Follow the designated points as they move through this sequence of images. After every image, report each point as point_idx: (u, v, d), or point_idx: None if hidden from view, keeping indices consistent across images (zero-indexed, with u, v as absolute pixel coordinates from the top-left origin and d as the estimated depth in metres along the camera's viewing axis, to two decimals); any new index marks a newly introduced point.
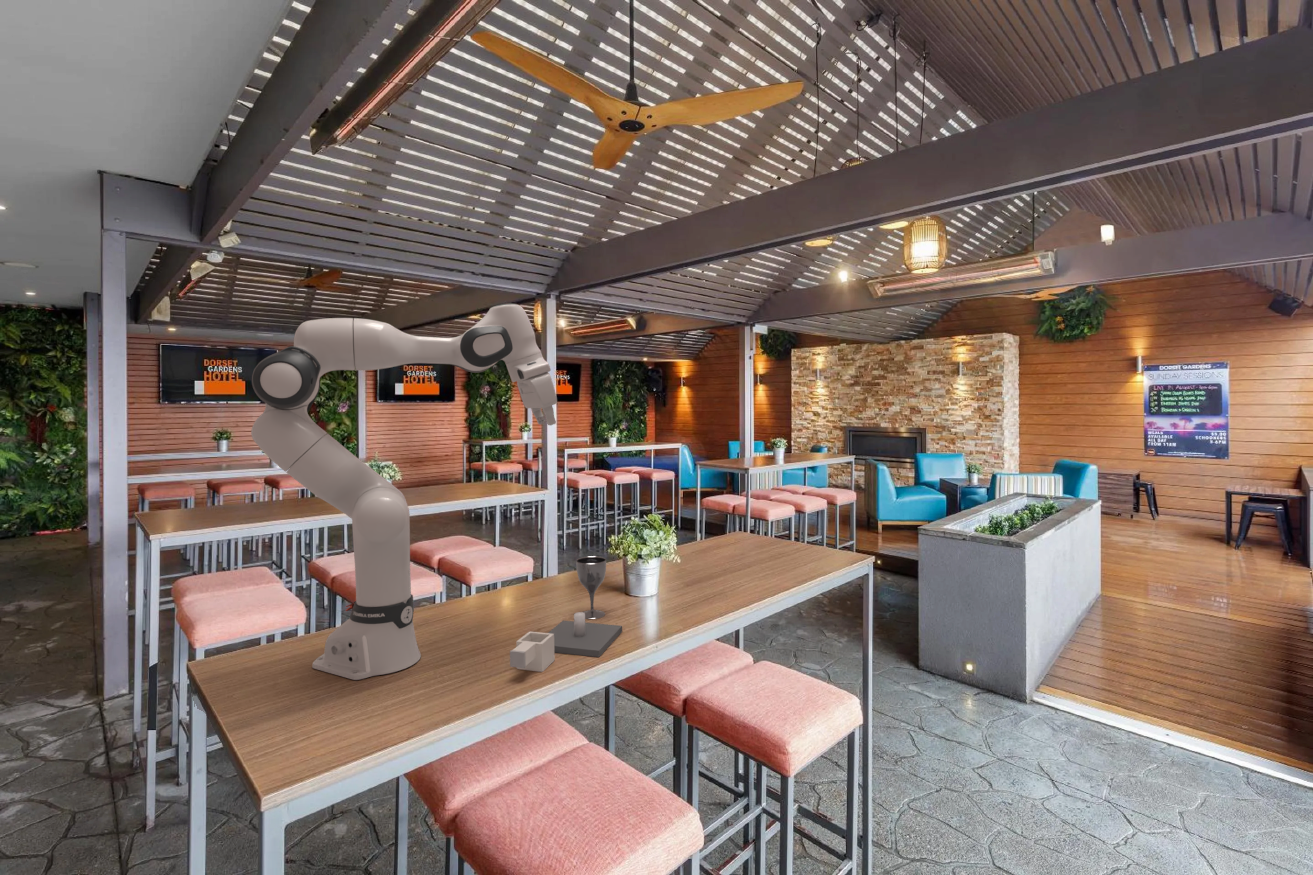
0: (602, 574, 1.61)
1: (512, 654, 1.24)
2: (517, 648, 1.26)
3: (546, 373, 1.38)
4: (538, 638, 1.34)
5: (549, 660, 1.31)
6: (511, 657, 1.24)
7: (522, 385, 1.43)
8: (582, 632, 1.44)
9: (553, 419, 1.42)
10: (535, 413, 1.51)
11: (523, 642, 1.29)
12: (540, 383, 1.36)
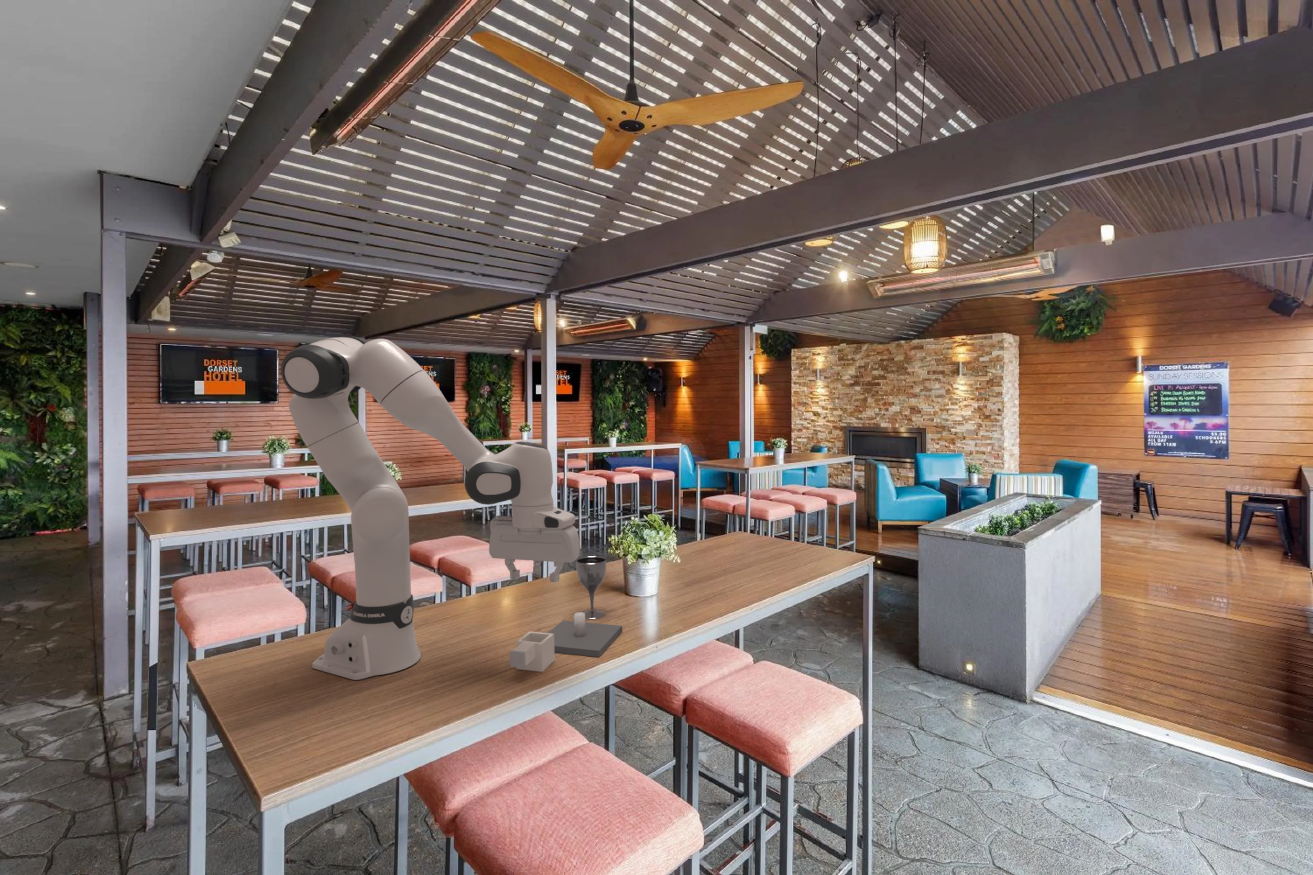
0: (602, 574, 1.61)
1: (512, 654, 1.24)
2: (517, 648, 1.26)
3: (571, 525, 1.30)
4: (538, 638, 1.34)
5: (549, 660, 1.31)
6: (511, 657, 1.24)
7: (533, 533, 1.27)
8: (582, 632, 1.44)
9: (558, 575, 1.30)
10: (510, 565, 1.32)
11: (523, 642, 1.29)
12: (573, 536, 1.27)
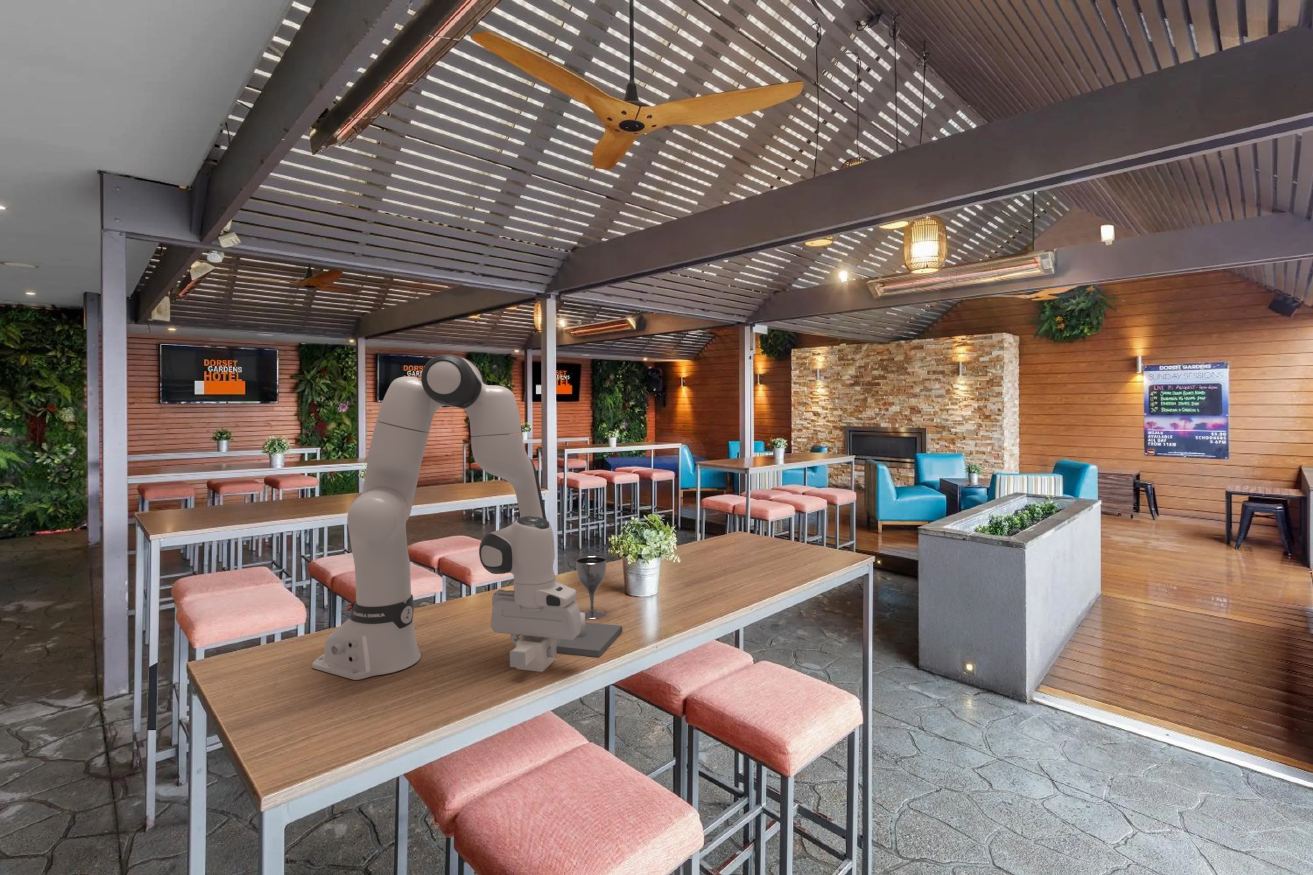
0: (602, 574, 1.61)
1: (512, 654, 1.24)
2: (517, 648, 1.26)
3: (573, 601, 1.31)
4: (538, 638, 1.34)
5: (549, 660, 1.31)
6: (511, 657, 1.24)
7: (535, 610, 1.28)
8: (582, 632, 1.44)
9: (555, 650, 1.31)
10: (516, 640, 1.32)
11: (523, 642, 1.29)
12: (574, 613, 1.28)
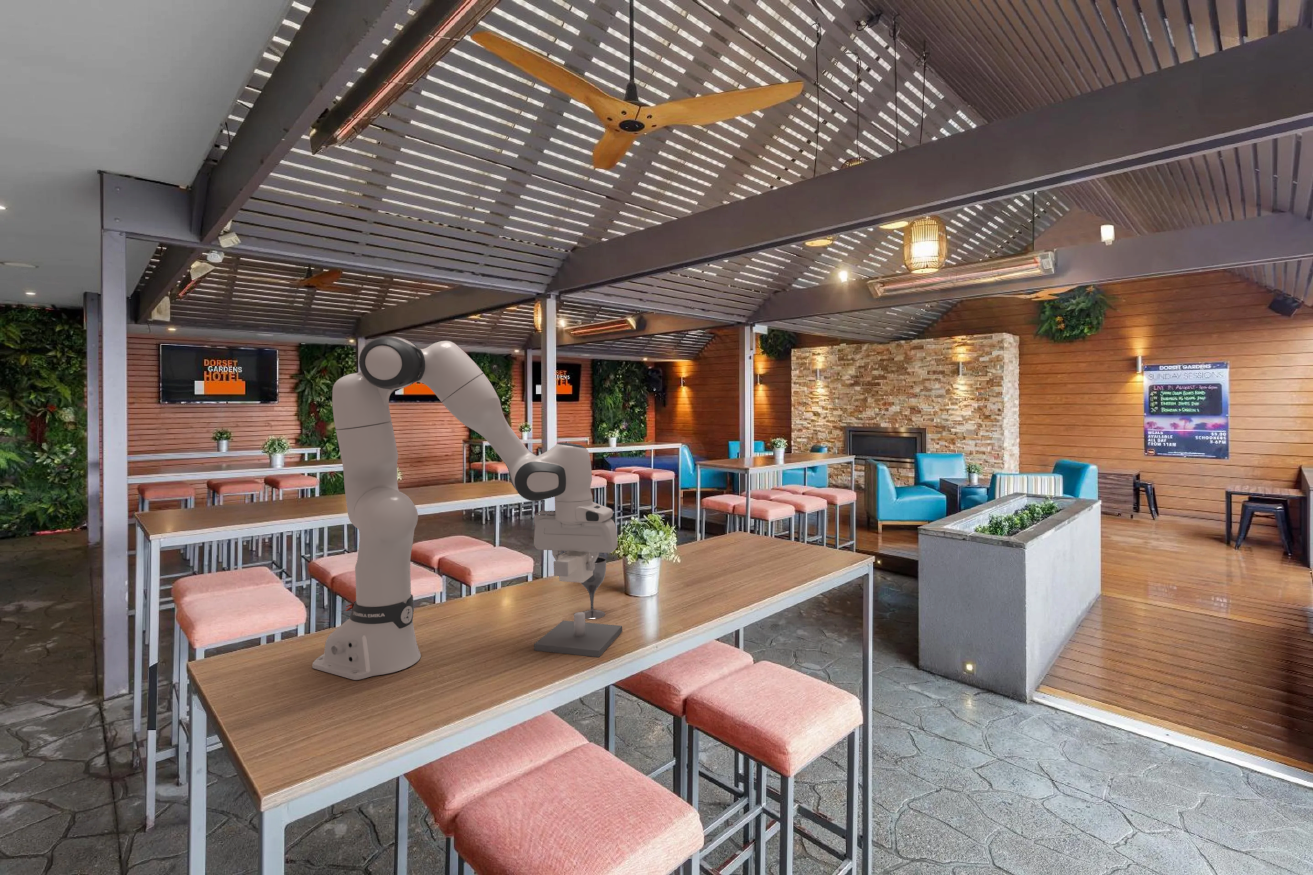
0: (602, 574, 1.61)
1: (556, 564, 1.35)
2: (560, 560, 1.36)
3: (610, 519, 1.41)
4: (577, 555, 1.45)
5: (588, 574, 1.42)
6: (555, 567, 1.35)
7: (575, 526, 1.39)
8: (582, 632, 1.44)
9: (594, 564, 1.42)
10: (557, 556, 1.43)
11: (564, 556, 1.40)
12: (611, 528, 1.39)
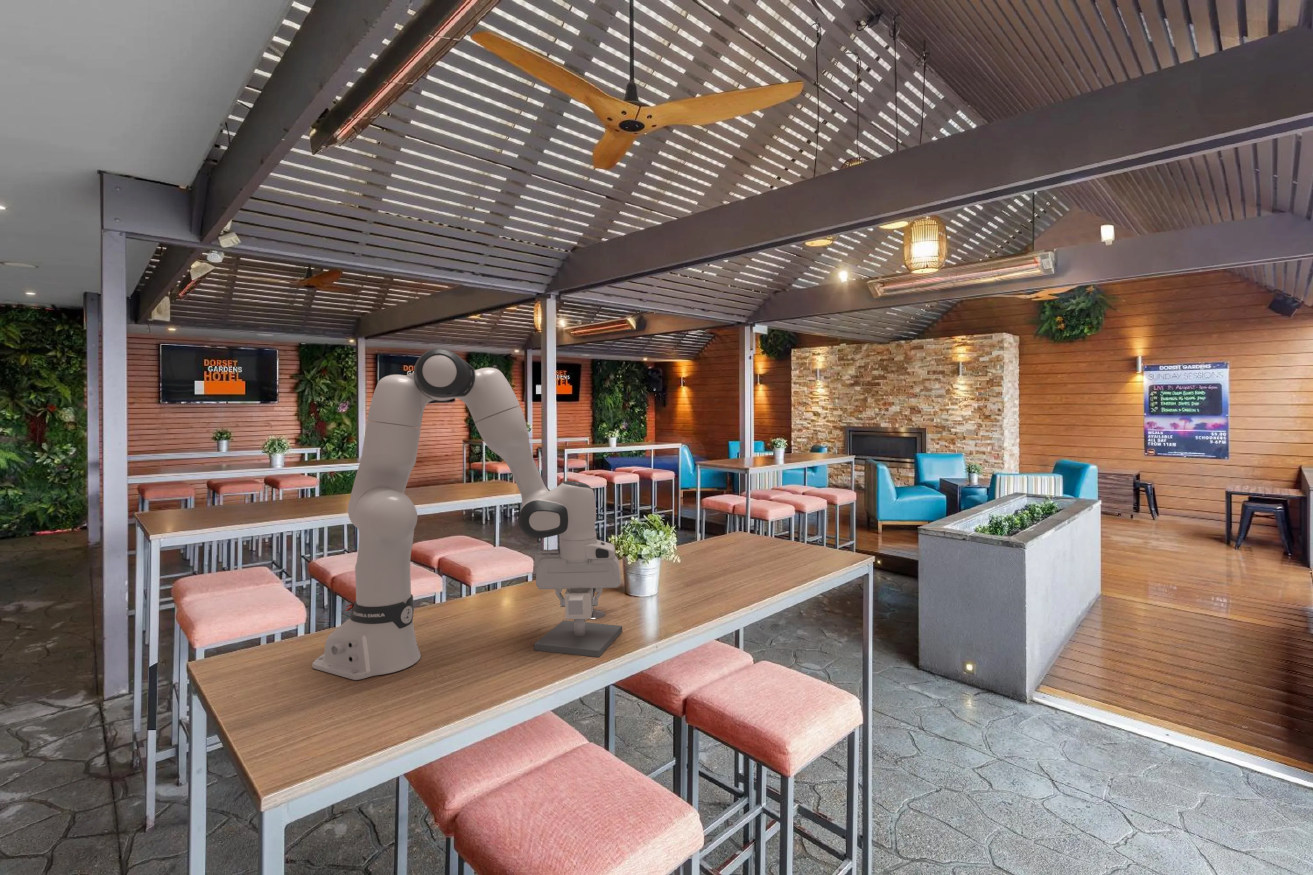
0: None
1: (571, 603, 1.37)
2: (572, 598, 1.38)
3: None
4: (578, 591, 1.47)
5: None
6: (570, 606, 1.37)
7: (583, 564, 1.42)
8: (582, 632, 1.44)
9: None
10: (560, 594, 1.44)
11: (572, 594, 1.42)
12: (618, 563, 1.44)
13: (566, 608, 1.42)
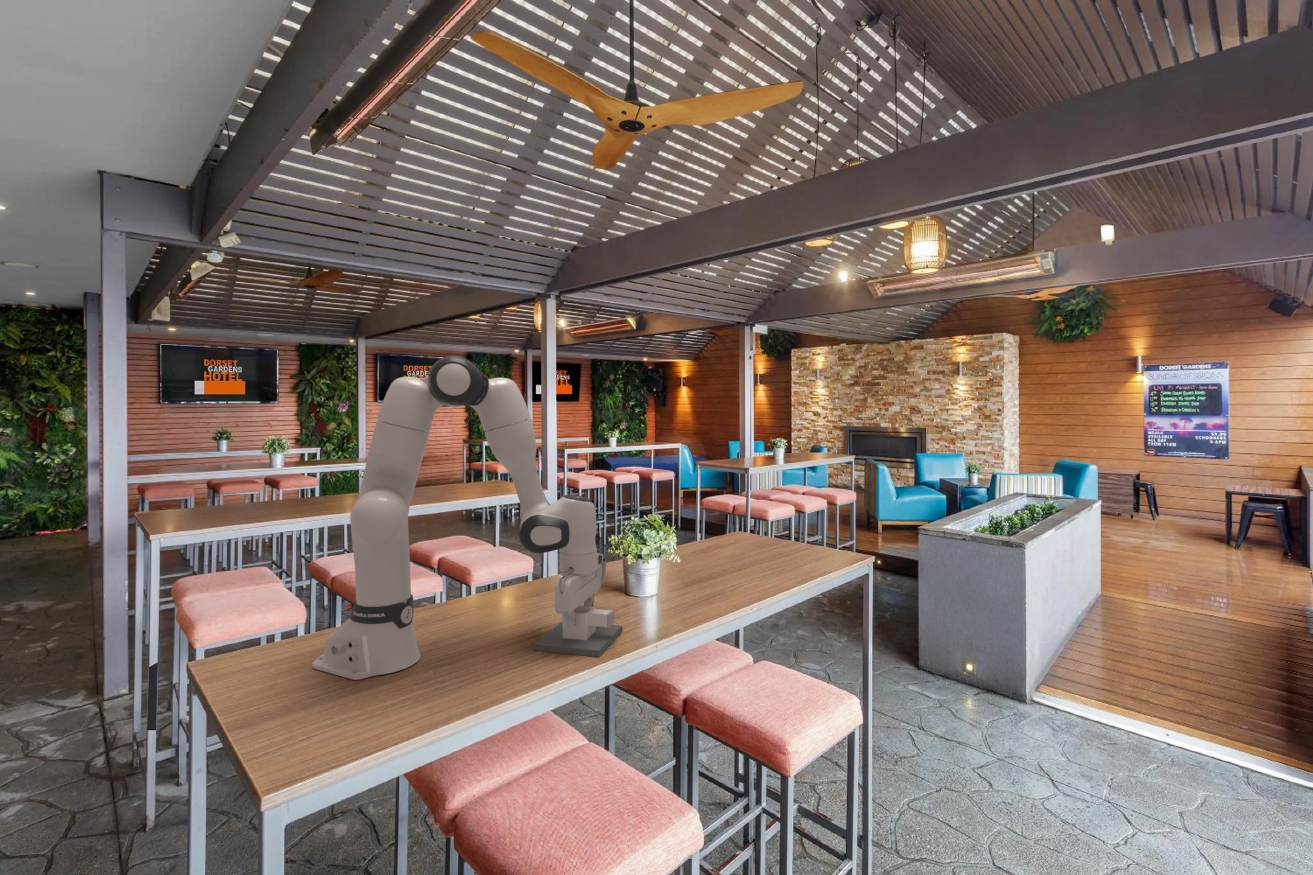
0: (602, 574, 1.61)
1: (610, 616, 1.42)
2: (602, 613, 1.42)
3: None
4: None
5: None
6: (609, 619, 1.41)
7: None
8: None
9: None
10: None
11: (589, 612, 1.43)
12: None
13: (586, 629, 1.42)
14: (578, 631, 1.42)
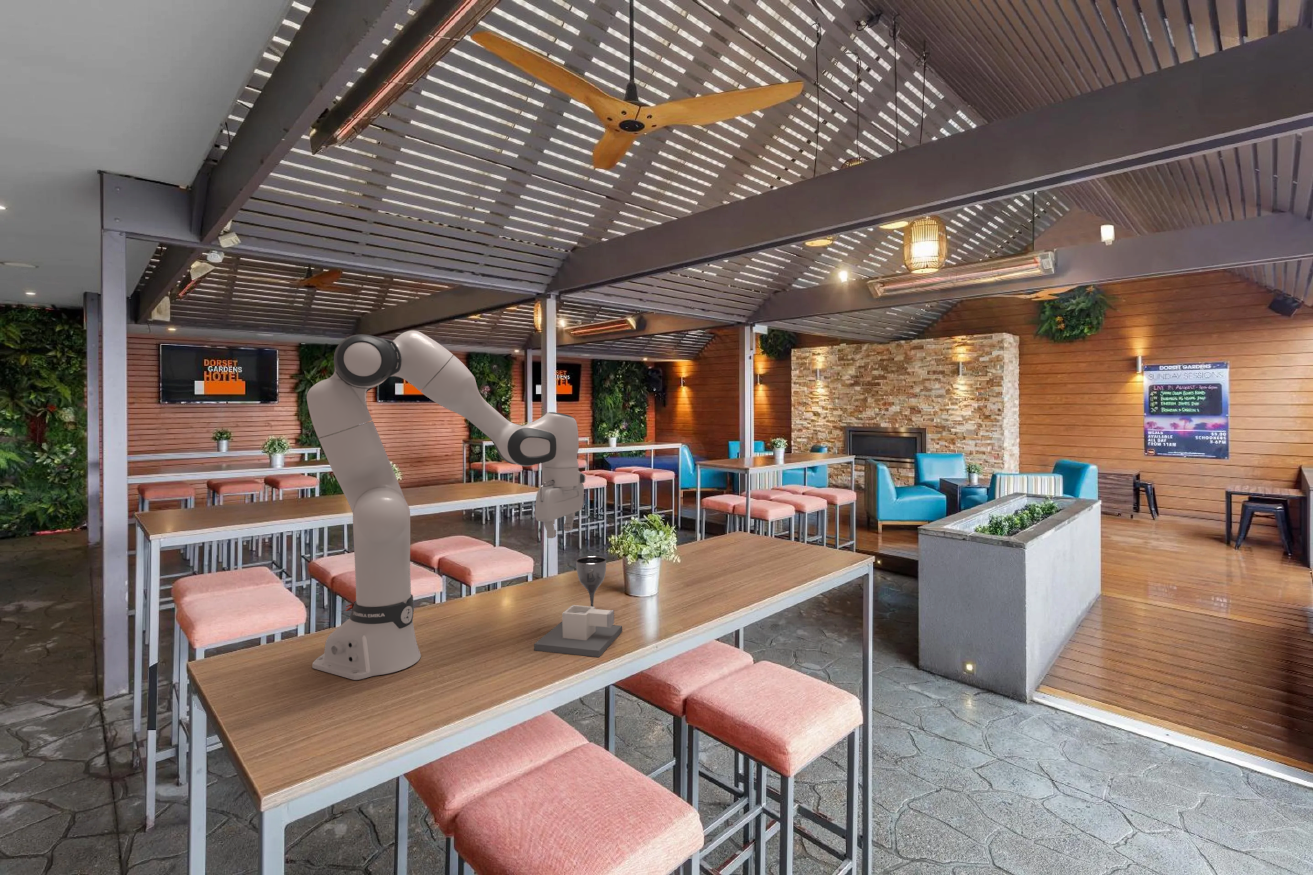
0: (602, 574, 1.61)
1: (610, 616, 1.42)
2: (602, 613, 1.42)
3: None
4: None
5: None
6: (609, 619, 1.41)
7: None
8: None
9: None
10: None
11: (589, 612, 1.43)
12: None
13: (586, 629, 1.42)
14: (578, 631, 1.42)
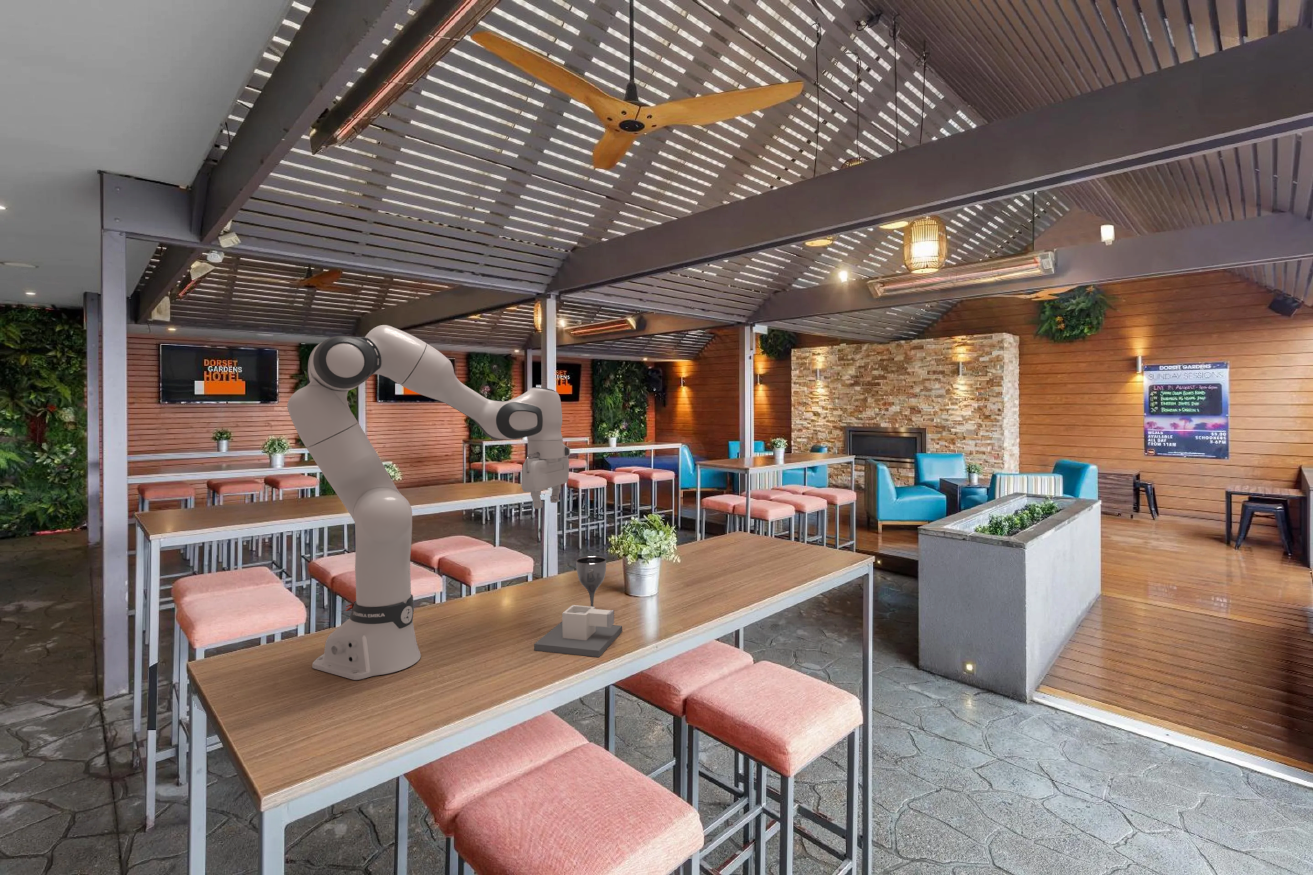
0: (602, 574, 1.61)
1: (610, 616, 1.42)
2: (602, 613, 1.42)
3: None
4: None
5: None
6: (609, 619, 1.41)
7: (558, 462, 1.55)
8: None
9: None
10: None
11: (589, 612, 1.43)
12: None
13: (586, 629, 1.42)
14: (578, 631, 1.42)
